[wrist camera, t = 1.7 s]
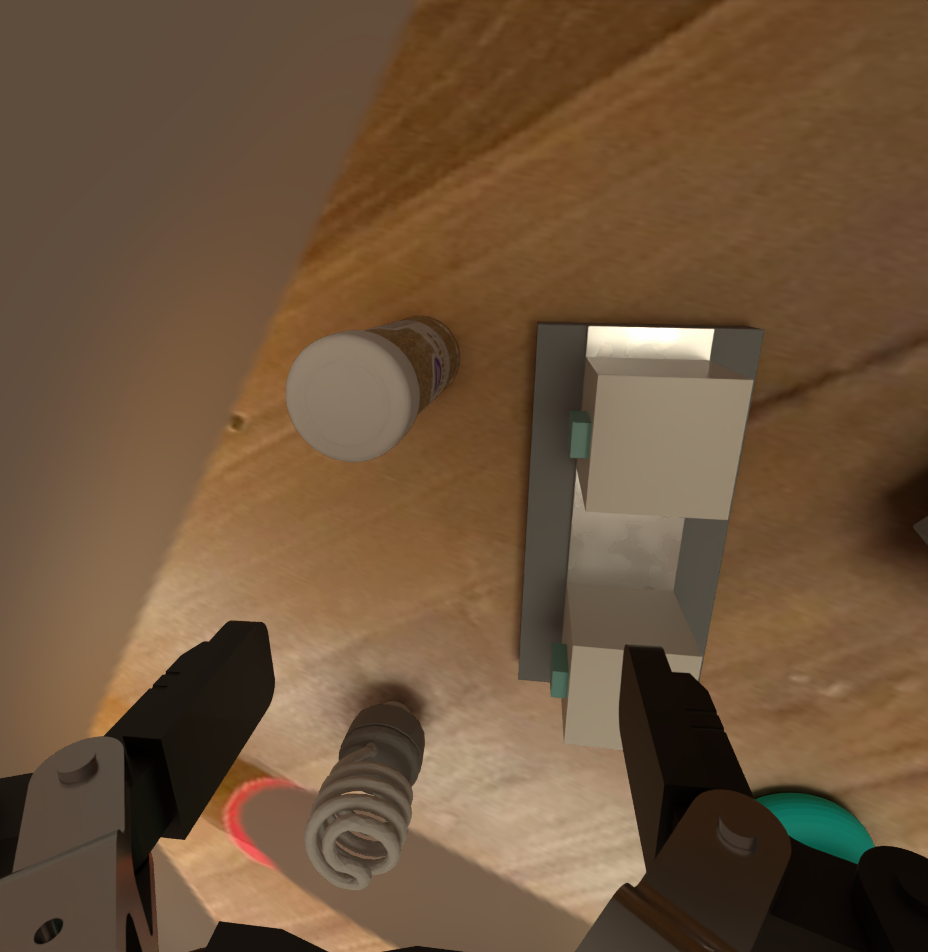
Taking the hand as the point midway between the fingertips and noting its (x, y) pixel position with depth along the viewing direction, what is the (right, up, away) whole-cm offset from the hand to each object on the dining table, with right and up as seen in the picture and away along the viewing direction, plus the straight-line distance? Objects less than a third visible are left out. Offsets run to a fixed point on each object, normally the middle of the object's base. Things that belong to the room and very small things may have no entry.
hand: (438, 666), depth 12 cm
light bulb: (-4, -12, +28) cm, 31 cm away
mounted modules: (+9, +1, +19) cm, 21 cm away
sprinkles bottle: (-2, +11, +20) cm, 23 cm away
